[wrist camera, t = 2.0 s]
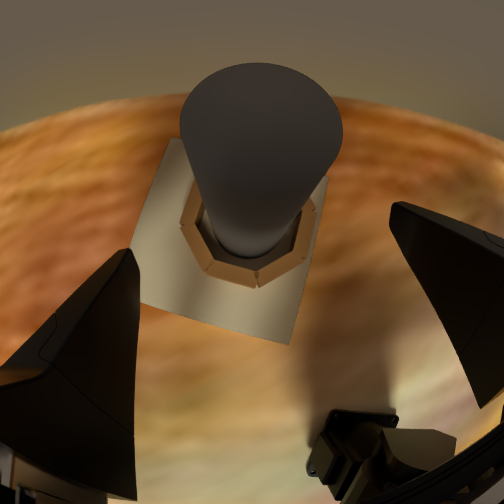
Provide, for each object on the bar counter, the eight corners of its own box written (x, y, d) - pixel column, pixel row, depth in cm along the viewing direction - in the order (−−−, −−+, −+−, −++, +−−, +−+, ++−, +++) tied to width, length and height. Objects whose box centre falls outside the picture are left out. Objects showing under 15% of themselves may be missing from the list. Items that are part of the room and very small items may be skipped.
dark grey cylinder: (289, 202, 21) (349, 86, 9) (273, 267, 20) (328, 214, 8) (224, 184, 21) (211, 52, 9) (204, 248, 20) (154, 168, 8)
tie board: (326, 179, 22) (336, 166, 20) (287, 344, 20) (294, 349, 18) (172, 140, 22) (166, 124, 20) (118, 293, 20) (104, 292, 18)
